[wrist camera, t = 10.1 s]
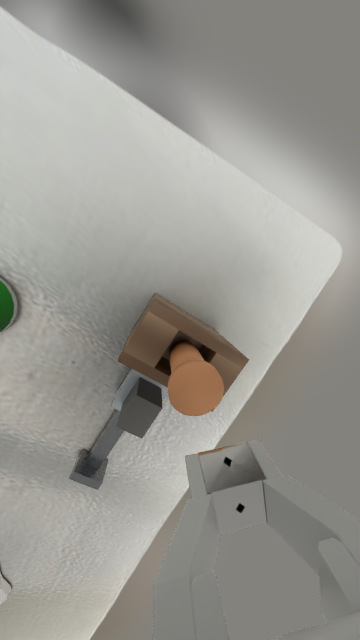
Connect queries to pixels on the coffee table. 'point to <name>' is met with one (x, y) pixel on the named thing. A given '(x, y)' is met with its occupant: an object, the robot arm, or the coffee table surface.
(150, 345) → the wooden box with opening
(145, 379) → the carriage
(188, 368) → the plunger
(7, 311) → the soda can
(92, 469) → the rail
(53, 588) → the coffee table surface
